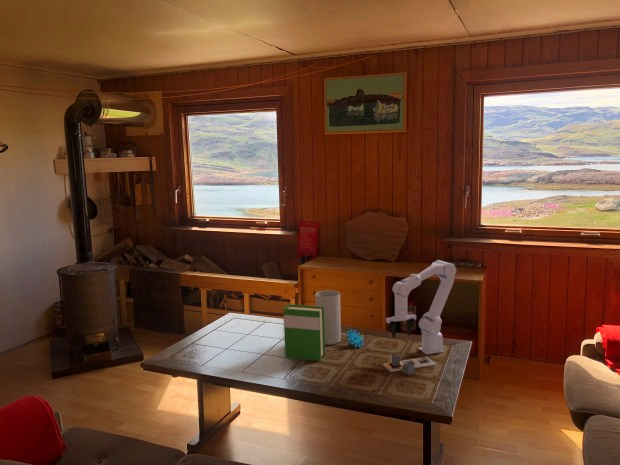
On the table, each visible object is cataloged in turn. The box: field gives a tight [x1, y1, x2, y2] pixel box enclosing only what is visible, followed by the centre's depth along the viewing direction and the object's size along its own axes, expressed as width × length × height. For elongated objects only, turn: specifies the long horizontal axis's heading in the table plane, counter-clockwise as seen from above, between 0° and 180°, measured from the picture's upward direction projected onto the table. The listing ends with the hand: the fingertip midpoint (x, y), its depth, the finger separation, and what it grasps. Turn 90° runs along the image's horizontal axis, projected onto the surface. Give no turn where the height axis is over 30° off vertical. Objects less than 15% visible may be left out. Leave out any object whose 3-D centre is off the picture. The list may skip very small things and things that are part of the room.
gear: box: [346, 329, 365, 348], centre depth 257 cm, size 11×6×10 cm
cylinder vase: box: [314, 289, 342, 346], centre depth 262 cm, size 12×12×25 cm
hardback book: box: [283, 304, 326, 362], centre depth 243 cm, size 18×7×24 cm, turn 71°
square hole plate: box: [383, 356, 436, 373], centre depth 230 cm, size 22×7×1 cm, turn 107°
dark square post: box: [390, 353, 401, 368], centre depth 228 cm, size 4×4×6 cm
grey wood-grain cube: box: [402, 362, 415, 376], centre depth 222 cm, size 4×4×4 cm
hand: (401, 335), depth 239 cm, fingers open, 7 cm apart
